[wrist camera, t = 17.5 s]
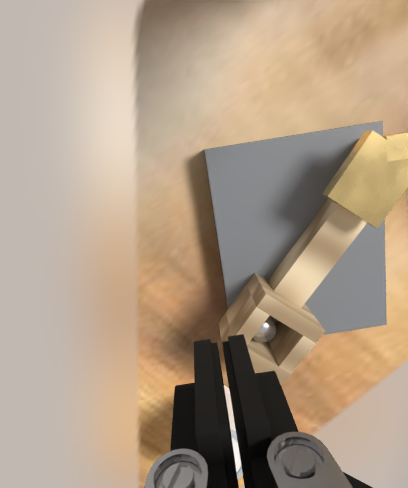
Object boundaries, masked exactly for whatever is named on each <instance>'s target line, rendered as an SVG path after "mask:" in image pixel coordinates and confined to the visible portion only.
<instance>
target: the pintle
mask: <svg viewBox="0 0 408 488" xmlns="http://www.w3.org/2000/svg"><path fill="white" fill-rule="evenodd" d="M275 333H276V326H275V324H274V322H273V320H272V318H271V316H269V317H268V318H267V320H266V321H265V322H264V324H263V325H262V326H261V327H260V329H259V330H258V331H257V333H256V334H255V335H254V337H253V339H254V340H256V341H258V342H267V341H269V340H271V339H272V338H273V337H274V335H275Z"/></svg>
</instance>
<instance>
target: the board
mask: <svg viewBox="0 0 408 488" xmlns="http://www.w3.org/2000/svg"><path fill="white" fill-rule="evenodd" d="M371 130H373V131H375V132H376V133H378V134H379V135H383V121H379V122H373V123H366V124H360V125H354V126H348V127H342V128H335V129H329V130H323V131H317V132H310V133H304V134H298V135H292V136H286V137H279V138H273V139H267V140H261V141H255V142H248V143H242V144H236V145H230V146H223V147H217V148H211V149H205V150H204V153H205V160H206V166H207V173H208V180H209V186H210V193H211V200H212V206H213V213H214V220H215V227H216V233H217V240H218V247H219V253H220V260H221V267H222V273H223V280H224V287H225V293H226V300H227V307H228V309H229V308H230V306H231V305H232V303H233V302H234V301H235V299H236V298H237V297H238V295H239V294H240V292H241V291H242V290H243V288H244V287H245V285H246V284H247V283H248V281H249V280H250V279H251V277H252V276H253V274H254V273H256V274H257V275H259V276H261V277H262V278H264V279H265V280H267V281H268V280H269V279H270V277H271V276H272V275H273V273H274V272H275V270H276V269H277V268H278V266H279V265H280V264H281V262H282V261H283V260H284V258H285V257H286V256H287V254H288V253H289V251H290V250H291V249H292V247H293V246H294V245H295V243H296V242H297V241H298V239H299V238H300V237H301V235H302V234H303V232H304V231H305V230H306V228H307V227H308V226H309V224H310V223H311V222H312V220H313V219H314V217H315V216H316V215H317V213H318V212H319V211H320V209H321V208H322V207H323V205H324V204H325V203H326V201H327V200H328V198H326V197H325V196H323V195H322V194H323V192H324V191H325V189H326V188H327V186H328V185H329V183H330V182H331V180H332V179H333V177H334V176H335V174H336V173H337V171H338V170H339V168H340V167H341V166H342V164H343V163H344V161H345V160H346V158H347V157H348V155H349V154H350V152H351V151H352V149H353V148H354V146H355V145H356V143H357V142H358V139H360V138H361V136H362V135H363V133H364V132H365V131H371ZM305 305H306V306H307V307H308V308H309V310H310V311H311V312H312V314H313V315H314V316H315V318H316V319H317V320H318V322H319V323H320V324H321V325H322V327H323V328H324V329H325V333H324V334H323V335H325V334H331V333H337V332H343V331H350V330H356V329H362V328H369V327H375V326H381V325H387V322H386V272H385V222H384V220H383V222H382V223H381V224H380V226H379V227H378V228H375V227H372V226H370V225H368V224H366V225H365V226H364V228H363V229H362V230H361V232H360V233H359V234H358V235H357V237H356V238H355V239H354V241H353V242H352V243H351V244H350V246H349V247H348V248H347V250H346V251H345V252H344V253H343V255H342V256H341V257H340V259H339V260H338V261H337V263H336V264H335V265H334V266H333V268H332V269H331V270H330V272H329V273H328V274H327V275H326V277H325V278H324V279H323V281H322V282H321V283H320V284H319V286H318V287H317V288H316V290H315V291H314V292H313V294H312V295H311V296H310V297H309V299H308V300H307V301H306V303H305ZM271 318H272V320H273V322H274V324H276V322H277V321H278V320H277V319H275V318H274V317H272V316H271Z"/></svg>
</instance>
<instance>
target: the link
mask: <svg viewBox="0 0 408 488" xmlns="http://www.w3.org/2000/svg"><path fill="white" fill-rule="evenodd" d="M366 224H367V223H365V222H364V221H362V220H361V219H359V218H357V217H356V216H354V215H353V214H351V213H350V212H348V211H347V210H345V209H343V208H342V207H340V206H339V205H337V204H336V203H334V202H333V201H331V200H330V199H328V200H327V201H326V203H325V204H324V205H323V207H322V208H321V209H320V211H319V212H318V213H317V215H316V216H315V217H314V219H313V220H312V222H311V223H310V224H309V226H308V227H307V228H306V230H305V231H304V232H303V234H302V235H301V237H300V238H299V239H298V241H297V242H296V243H295V245H294V246H293V247H292V249H291V250H290V251H289V253H288V254H287V256H286V257H285V258H284V260H283V261H282V262H281V264H280V265H279V266H278V268H277V269H276V270H275V272H274V273H273V275H272V276H271V277H270V279H269V280H268V281H267V280H265V279H264V278H262V277H261V276H259V275H257V274H256V273H254V274H253V276H252V277H251V279H250V280H249V281H248V283H247V284H246V285H245V287H244V288H243V290H242V291H241V292H240V294H239V295H238V297H237V298H236V299H235V301H234V302H233V303H232V305H231V306H230V308H229V309H228V310H227V312H226V313H225V315H224V316H223V317H222V319H221V320H220V321H219V330H220V336H221V342H224V341H228V336H234V335H241V334H244V337H245V341H246V344H247V347H248V351H249V354H250V358H251V361H252V365H253V368H254V370H256V371H257V372H259V373H262V372H268V371H275V372H276V374H277V377H278V379H279V382H280V385H283V384H284V382H285V381H286V380H287V379H288V377H289V376H290V375H291V374H292V372H293V371H294V370H295V369H296V367H297V366H298V365H299V364H300V362H301V361H302V360H303V359H304V357H305V356H306V355H307V354H308V353H309V351H310V350H311V349H312V348H313V346H314V345H315V344H316V343H317V341H318V340H319V339H320V338H321V336H322V335H323V334H324V333H325V329H324V328H323V327H322V325H321V324H320V323H319V322H318V320H317V319H316V318H315V316H314V315H313V314H312V312H311V311H310V310H309V308H308V307H307V306H306V305H305V303H306V301H307V300H308V299H309V297H310V296H311V295H312V294H313V292H314V291H315V290H316V288H317V287H318V286H319V284H320V283H321V282H322V281H323V279H324V278H325V277H326V275H327V274H328V273H329V272H330V270H331V269H332V268H333V266H334V265H335V264H336V263H337V261H338V260H339V259H340V257H341V256H342V255H343V253H344V252H345V251H346V250H347V248H348V247H349V246H350V244H351V243H352V242H353V241H354V239H355V238H356V237H357V235H358V234H359V233H360V232H361V230H362V229H363V228H364V226H365V225H366ZM269 316H272V317H274V318H275V319H277V320H278V321H277V322H276V324H275V326H276V333H275V335H274V337H273V338H272V339H271V340H269V341H267V342H258V341H256V340H254V339H253V337H254V335H255V334H256V333H257V331H258V330H259V329H260V327H261V326H262V325H263V324H264V322H265V321H266V320H267V318H268V317H269ZM222 348H223V344H222ZM223 352H224V351H223Z"/></svg>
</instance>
